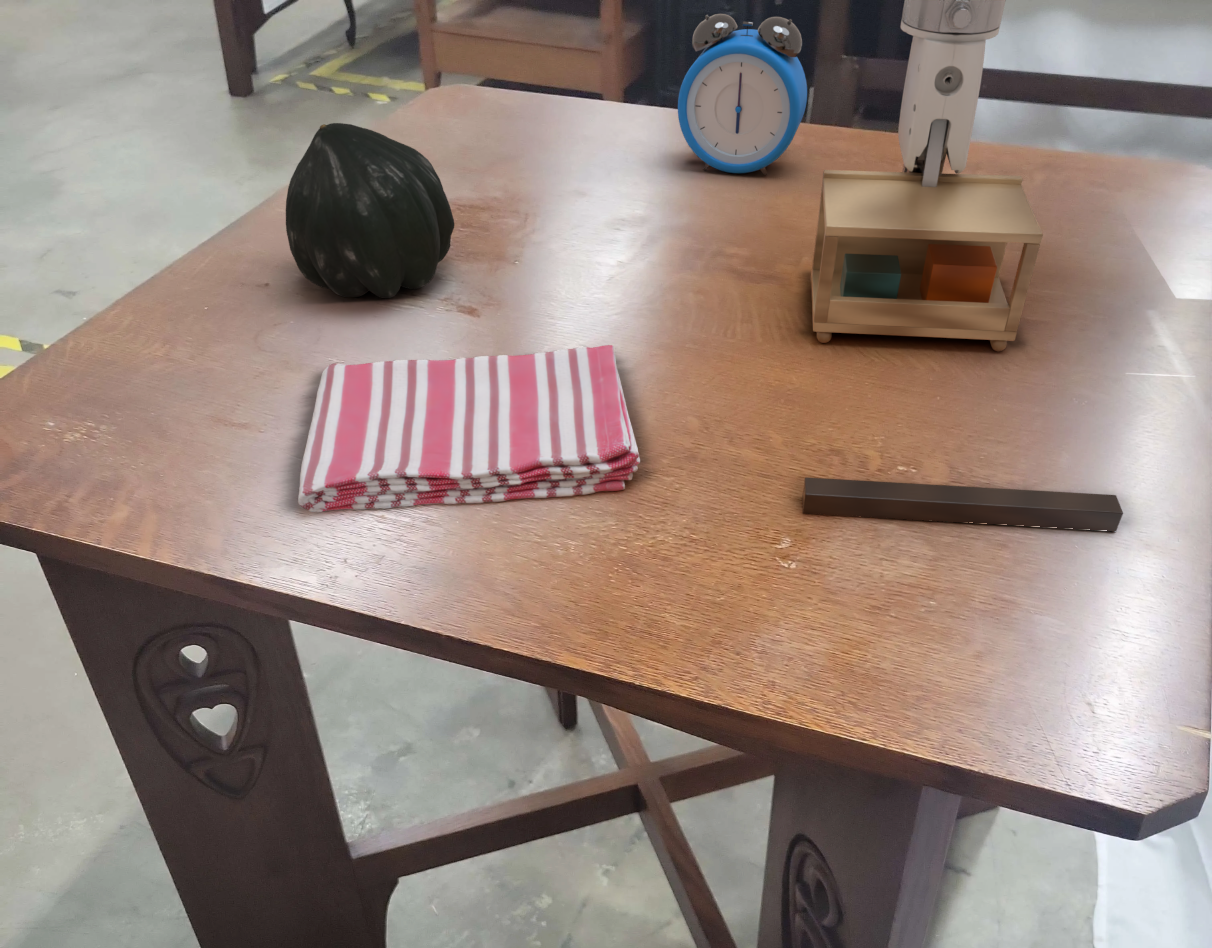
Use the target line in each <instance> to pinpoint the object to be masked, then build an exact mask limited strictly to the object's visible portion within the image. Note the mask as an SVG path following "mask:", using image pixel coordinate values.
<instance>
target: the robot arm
mask: <svg viewBox="0 0 1212 948" xmlns="http://www.w3.org/2000/svg"><path fill="white" fill-rule="evenodd" d="M1006 1H1007V0H904V3H903V8H902V14H901V21H900V30H901V31H902V32H904V33H906V34H908V35H910V36H912V41H911V46H910V51H909V57H908V62H907V68H906V74H905V80H904V84H903V85H904V86H903V91H902V98H901V106H900V111H899V119H898V132H897V134H898V136H897V137H898V138H897V139H898V145H899V149H900V154H901V158H902V159H901V160H902V162H903V165H902V170H901V172H909V173H921V180H920V181H921V186H922V187H937V182H938V176H939V173H941V174H943V170H944V166H945V161H946V159H947V161H948V164H949V166H950V170H951V171H954V172H955V173H954V174H962V172H964V171H965V169H966V168H967V163H968V157H969V152H970V145H971V141H972V140H971V139H972V134H973V130H974V124H975V119H976V113H977V107H978V102H979V101H978V100H979V95H980V90H981V84H982V77H983V70H984V63H985V53H986V42H987V41H986V40H990V39H993V38H995V37H997V36H998V35H999V32H1000V28H1001V23H1002V19H1003V15H1004V10H1005V5H1006Z"/></svg>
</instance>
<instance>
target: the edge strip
mask: <svg viewBox="0 0 1212 948" xmlns="http://www.w3.org/2000/svg"><path fill="white" fill-rule="evenodd" d="M802 487H803V488H802V494H801V497H802V498H801V499H802V502H801V503H802V513H803V515H804V514H806V515H820V514H825V515H824V516H838V517H839V516H840V517H855V518H870V517H874V518H873V519H887V518H889V519H890V518H895V519H894V520H903V519H907V520H908V521H920V520H924V521H923V522H930V521H929V520H932V521H931V522H937V521H943V522H942V523H946V522H945V521H948V522H947V523H953V522H968V523H967V524H970V523H969V522H973V523H987V524H1007V525H1024V526H1040V527H1057V528H1073V529H1090V530H1107V531H1116V532H1117V531H1118V528H1119V525H1120V522H1121V520H1122V518H1123V514H1124V511H1123V509H1122V506H1121V504H1120V502H1119V498H1118V496H1117V495H1116V494H1104V493H1090V492H1089V493H1086V492H1071V491H1070V492H1069V491H1053V490H1052V491H1051V490H1034V489H1033V490H1032V489H1020V488H1019V489H1016V488H1003V487H1002V488H1001V487H983V486H966V485H965V486H964V485H947V484H929V483H914V482H913V483H912V482H896V481H879V480H877V481H875V480H859V479H857V480H856V479H841V478H823V477H807V476H806V477H804V481H803V486H802ZM859 516H861V517H859ZM912 519H913V520H912ZM890 520H891V519H890ZM907 520H906V521H907Z"/></svg>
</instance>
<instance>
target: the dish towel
mask: <svg viewBox="0 0 1212 948" xmlns="http://www.w3.org/2000/svg"><path fill="white" fill-rule="evenodd" d="M616 361H617V360H616V353H615V347H614V345H613V344H604V345H599V346H594V347H588V346H580V347H579V346H578V347H574V348H561V349H556V350H553V351H541V352H535V353H531V354H519V355H509V354H498V355H497V354H496V355H479V356H477V355H476V356H473V357H460V358H454V359H439V360H438V359H424V358H423V359H397V360H396V359H394V360H382V361H381V360H380V361H374V362H366V363H359V364H358V363H357V364H343V363H340V362H339V363H338V362H335V363H334V362H333V363H331V364H329V365H328V366H327V367H326V368H325V369H324V370H323V371H322V373H321V377H320V382H319V386H318V389H317V392H316V399H315V403H314V409H313V413H312V418H311V423H310V427H309V431H308V433H307V435H308V436H307V440H306V444H305V449H304V452H303V457H302V461H301V465H300V466H301V467H300V473H299V488H298V496H297V498H298V500H297V504H298V505H299V506H300V507H301V508H303V509H305V510H307V511H308V512H310V513H322V512H325V511H326V512H327V511H339V510H368V509H377V510H378V509H390V508H391V509H392V508H397V507H403V508H404V507H414V506H417V505H432V504H447V505H451V504H453V505H457V504H484V503H500V502H506V501H509V500H521V499H548V498H557V497H562V498H563V497H574V496H578V495H579V496H581V495H583V496H584V495H589V494H594V493H598V492H605V491H606V492H607V491H608V492H614V491H615V492H617V491H623V490H625V489H626V485H625V484H626V483H625V481H631V480H633V476H634V475H633V473H636V472H637V471H638V469H639V467H638V465H639V464H640V463H641V458H640V453H639V448H638V444H637V441H636V436H635V434H634V430H633V426H632V423H631V419H630V415H629V411H628V406H627V402H626V398H625V395H624V390H623V385H622V382H621V377H620V374H619V371H618V367H617V362H616Z"/></svg>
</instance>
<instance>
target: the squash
mask: <svg viewBox="0 0 1212 948" xmlns="http://www.w3.org/2000/svg"><path fill="white" fill-rule="evenodd" d="M454 229H455V218H454V215H453V211H452V208H451V205H450V202H449V200H448V197H447V195H446V192H445V189H444V187H443V184H442V182H441V179H440V177H439V175H438V174H437V172H436V170H435V167H434V166H433V165H432V163H431V162H430V161H429V159H428V158H427V157H426V156H425V155H423V154H422V153H421V152H419V151H418V150H417V149H416V148H413V147H411V146H410V145H407V144H404V143H402V142H399V141H397V140H395V139H393V138H390V137H388V136H386V135H385V134H382V133H379V132H377V131H375V130H372V129H369V128H365V127H362V126H358V125H354V124H351V123H343V122H333V123H328V124H324V123H323V124H321V125H320V126H319V128H318V130H317V131H316V132H315V134H314V135H313V138H312V139H311V141H310V144H309V145H308V147H307V149H306V150H305V152H304V155H303V156H302V158H301V159H300V160H299V162H298V163H297V166H296V167H295V170H294V172H293V173H292V176H291V178H290V181H289V185H288V187H287V194H286V200H285V232H286V236H287V240H288V246H289V250H290V253H291V255H292V257H293V259H294V261H295V264H296V266H297V268H298V270H299V272H300V273H301V275H303V277H304V278H305V279H306V280H308V281H310V282H311V283H312V284H314V285H316V286H317V287H321V288H323V289H327V290H331V291H332V292H333V293H334V294H335V295H338V296H340V297H343V298H359V297H361V296H364V295H365V294H367V293H368V292H370V293H372V294H373V295H375V296H376V297H378V298H382V299H391V298H394V297H396V295H397V294H398V293H399V291H400V290H401V287H402V288H405V289H409V290H418V289H421V288H422V287H425V286H427V285H428V284H429V283H431V281H432V279H433V278H434V277H435V274H436V271H437V268H438V264H439V263H440V262H441V261H443V260H444V258H445V257H446V256H447V255H448V253H449V251H450V248H451V241H452V234H453V232H454Z"/></svg>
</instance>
